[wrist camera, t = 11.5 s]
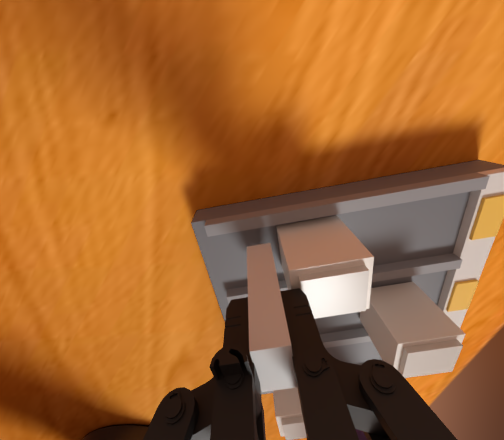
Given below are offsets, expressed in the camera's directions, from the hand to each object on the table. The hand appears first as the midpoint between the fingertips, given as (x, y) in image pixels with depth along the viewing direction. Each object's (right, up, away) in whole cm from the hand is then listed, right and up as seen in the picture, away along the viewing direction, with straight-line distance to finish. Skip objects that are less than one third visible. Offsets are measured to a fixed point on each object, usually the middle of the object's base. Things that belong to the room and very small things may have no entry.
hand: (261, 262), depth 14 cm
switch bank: (+7, -4, +6) cm, 10 cm away
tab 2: (+3, +1, +1) cm, 4 cm away
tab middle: (+10, -4, +4) cm, 12 cm away
